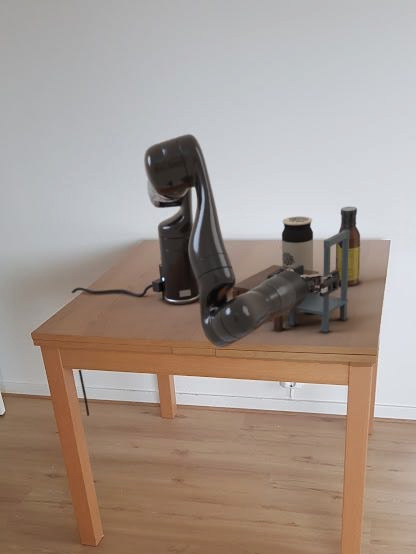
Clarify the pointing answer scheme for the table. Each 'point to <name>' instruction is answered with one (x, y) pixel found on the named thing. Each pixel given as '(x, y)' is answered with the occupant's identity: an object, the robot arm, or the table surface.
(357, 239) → the sauce bottle
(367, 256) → the table surface
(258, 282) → the walnut table
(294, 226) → the travel mug
